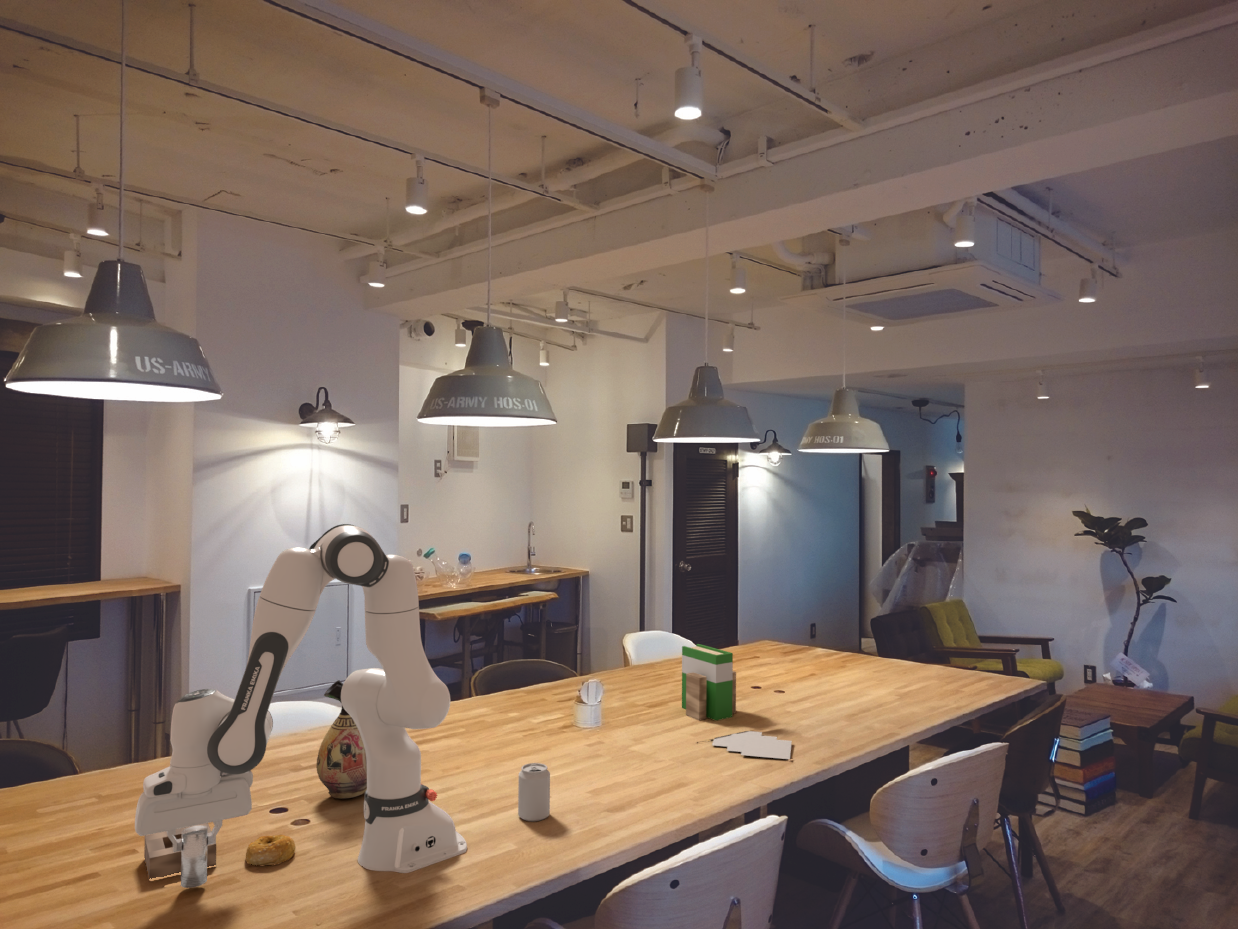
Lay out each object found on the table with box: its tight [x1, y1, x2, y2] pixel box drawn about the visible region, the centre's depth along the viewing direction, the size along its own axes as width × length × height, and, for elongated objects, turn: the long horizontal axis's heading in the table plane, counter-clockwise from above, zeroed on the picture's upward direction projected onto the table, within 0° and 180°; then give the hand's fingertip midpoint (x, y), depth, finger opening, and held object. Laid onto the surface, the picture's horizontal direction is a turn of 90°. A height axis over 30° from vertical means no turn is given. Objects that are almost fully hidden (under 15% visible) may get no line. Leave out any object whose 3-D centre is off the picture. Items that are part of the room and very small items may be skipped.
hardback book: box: [681, 643, 734, 722], centre depth 288 cm, size 18×7×24 cm, turn 35°
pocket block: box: [143, 823, 217, 880], centre depth 175 cm, size 12×12×5 cm
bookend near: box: [685, 672, 707, 721], centre depth 282 cm, size 3×7×14 cm, turn 34°
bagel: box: [245, 834, 296, 866], centre depth 178 cm, size 10×11×5 cm
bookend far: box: [732, 670, 737, 715], centre depth 289 cm, size 3×7×14 cm, turn 33°
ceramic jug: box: [316, 679, 367, 799], centre depth 214 cm, size 17×15×30 cm
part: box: [180, 826, 208, 889], centre depth 163 cm, size 4×4×10 cm
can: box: [517, 762, 551, 822], centre depth 200 cm, size 8×8×12 cm
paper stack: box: [711, 730, 793, 760], centre depth 256 cm, size 23×25×1 cm
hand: (194, 846), depth 164 cm, fingers closed on part, 4 cm apart
